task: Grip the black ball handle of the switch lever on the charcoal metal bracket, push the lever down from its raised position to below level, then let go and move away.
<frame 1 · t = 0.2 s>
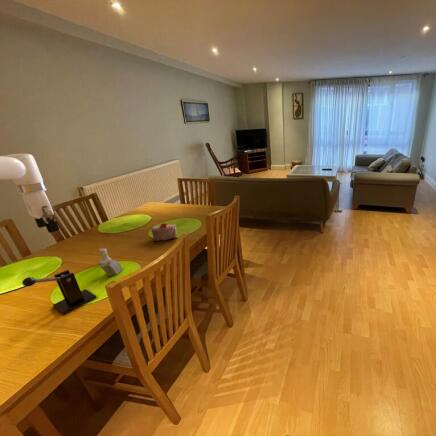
hand: (49, 228, 97), 29 cm above the table, tool pointing down, fingers open, 9 cm apart
mineral specimen: (113, 274, 116), on the table
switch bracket: (75, 302, 98), on the table
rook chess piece: (107, 262, 126), on the table
switch lever: (47, 279, 89), point 14 cm above the table, hinge at 25.0°
food item: (166, 238, 152), on the table
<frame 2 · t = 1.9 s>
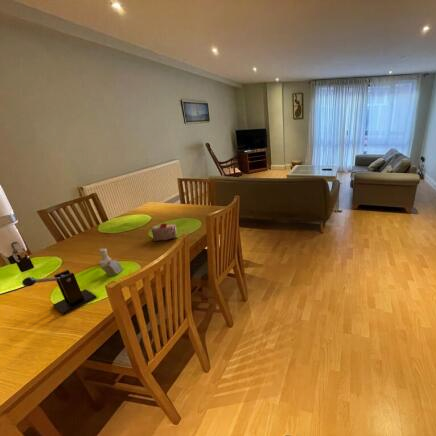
hand: (22, 266, 82), 23 cm above the table, tool pointing down, fingers open, 9 cm apart
nothing on the table moved.
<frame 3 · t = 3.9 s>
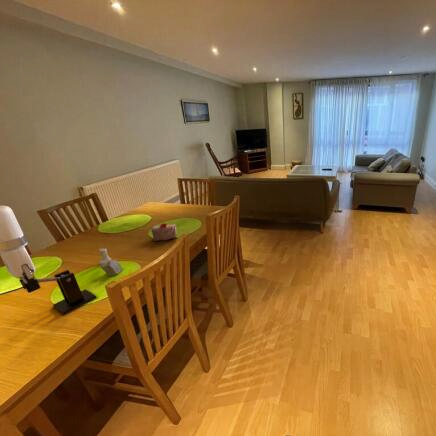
hand: (32, 288, 86), 13 cm above the table, tool pointing down, fingers closed on switch lever, 3 cm apart
switch lever: (47, 279, 89), point 14 cm above the table, hinge at 25.0°, touching gripper
everything else where it was.
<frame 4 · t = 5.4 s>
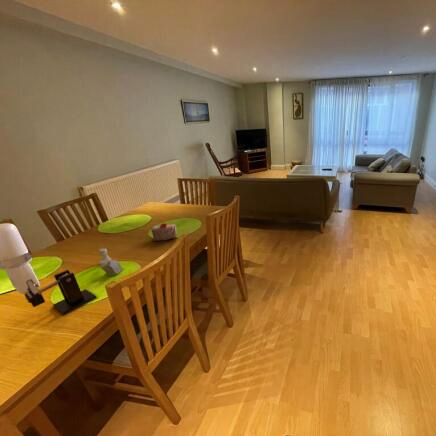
hand: (37, 302, 87), 8 cm above the table, tool pointing down, fingers closed on switch lever, 3 cm apart
switch lever: (49, 286, 90), point 11 cm above the table, hinge at -7.7°, touching gripper
everything else where it was.
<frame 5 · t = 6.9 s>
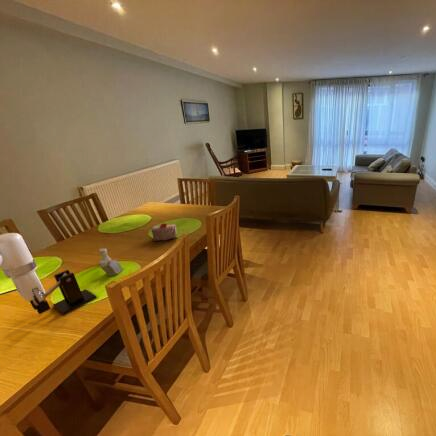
hand: (42, 308, 89), 4 cm above the table, tool pointing down, fingers open, 3 cm apart
switch lever: (52, 289, 91), point 10 cm above the table, hinge at -26.2°
everything else where it was.
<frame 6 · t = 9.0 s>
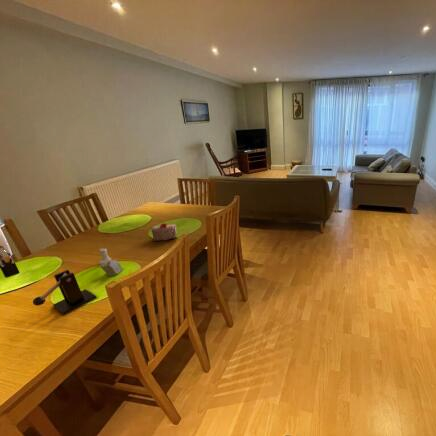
hand: (7, 271, 80), 22 cm above the table, tool pointing down, fingers open, 9 cm apart
nothing on the table moved.
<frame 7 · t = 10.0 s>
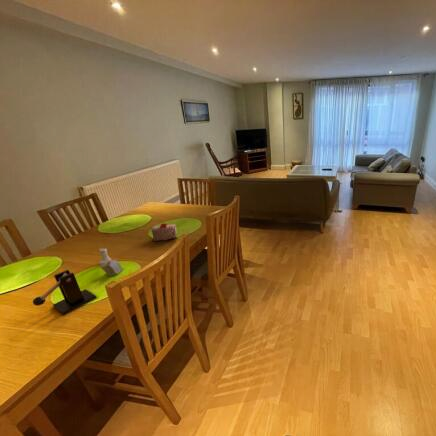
nothing on the table moved.
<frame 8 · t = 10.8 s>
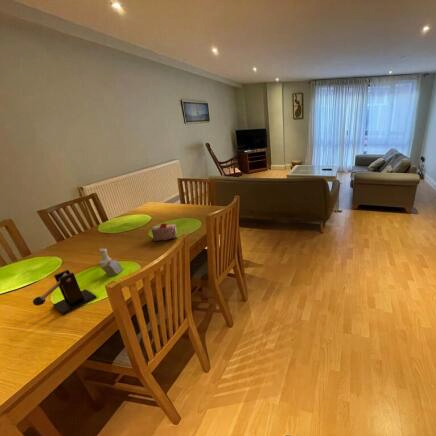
nothing on the table moved.
at the end: switch lever at -26° (first picture: +25°); the gripper is holding nothing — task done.
